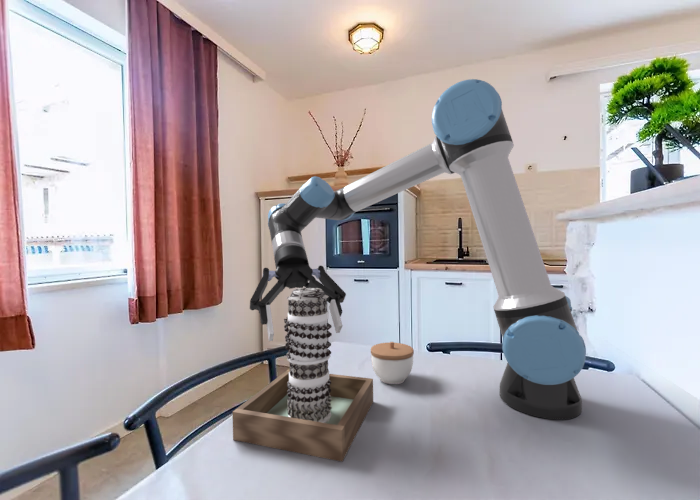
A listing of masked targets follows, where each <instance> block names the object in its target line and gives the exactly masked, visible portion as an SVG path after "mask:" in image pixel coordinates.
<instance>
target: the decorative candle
mask: <svg viewBox="0 0 700 500" xmlns="http://www.w3.org/2000/svg"><path fill="white" fill-rule="evenodd" d="M328 297H329V296H327V295H325V293H324V292H323V290H322V289H320V288H306V287H303V288H294V289H293V290H292V291H291V294H290V295H289V296H286V300H288V302H287V305H288V308H287V309H288V312H287V316H286V318H284V319H283V320H284V326H283V327H284V332H286V335H285V336H284V339H285V342H286V343H284V344H285V350H286V351H288V352H287V353H286V355H285V356H286V361H287V362H289V369H290V372H289V382H287V385H288V386H287V388H288V389H289V390H288V391H287V393H288V394H287V395H288V397H289V398H288V400H287V405H288V408H287V409H288V417H292V418H298V419H304V420H310V421H316V422H322V423H327V422H328V421H329V420H330V418H331V412H330V410H331V409H332V407H331V406H330V405H331V403H330V402H331V401H332V399H331V398H330V397H331V395H329V394H330V392H331V389H330V384H331V381H330V378H329V374H330V371H329V362H328V361H329V359H330V357H331V355H332V351H331V350H330V349H329V348H330V347H331V346H332V343H331V342H330V341H329V340H328V339H329V338H330V337H332V335H333V334H332V332H330V331H329V330H330V329H331V328H332V324H330V323H329V322H328V320H329V311H328V302H327V298H328Z"/></svg>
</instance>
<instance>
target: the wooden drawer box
mask: <svg viewBox="0 0 700 500" xmlns="http://www.w3.org/2000/svg"><path fill="white" fill-rule="evenodd" d="M289 372H290V368H288V369H287V370H286V371H285V370H284V372H283V373H281V374H279V376H277V377H276V378H275V379H274V380H272V381H270V383H268V384H267V385H266V386H264V387H263V388H262V389H261V390H259V391H257V392H256V393H255V394H254V395H252V396H251V397H250V398H249V399H247V400H246V401H245V402H244V403H242V404H240V405H239V406H238V407H237V408H236V409H234V410H232V440H233V441H238V442H243V443H246V444H253V445H257V446H262V447H266V448H267V447H268V448H272V449H278V450H283V451H288V452H291V453H292V452H293V453H296V454H297V453H298V454H303V455H308V456H313V457H316V458H317V457H318V458H320V459H321V458H323V459H327V460H328V459H329V460H333V461H338V462H343V461H344V459H345V458H346V456H347V454H348V452H349V449H350V448H351V446H352V444H353V442H354V439H355V438H356V436H357V434H358V433H359V430H360V428H361V427H362V424H363V423H364V421H365V419H366V417H367V415H368V412H369V411H370V409H371V407H372V405H373V403H374V378H369V377H361V376H352V375H345V374H343V375H342V374H336V373H329V378H330V381H331V384H330V389H331V392H330V394H329V395H331V397H330V398H331V399H332V401H331V402H330V403H331V405H330V406H331V407H332V409H331V410H330V412H331V418H330V420H329V421H328V422H327V423H322V422H316V421H310V420H304V419H298V418H292V417H288V409H287V408H288V405H287V400H288V398H289V397H288V395H287V394H288V393H287V391H288V390H289V389H288V388H287V386H288V385H287V382H289Z"/></svg>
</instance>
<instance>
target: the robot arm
mask: <svg viewBox="0 0 700 500" xmlns="http://www.w3.org/2000/svg"><path fill="white" fill-rule="evenodd" d="M502 105H503V104H502V98H501V96H500V93H499V92H498V91H497V90H496V88H495V87H494V86H493V85H491V83H489V82H488V81H485V80H481V79H478V78H477V79H474V78H472V79H471V78H470V79H463V80H461V81H458V82H456V83H454V84H452V85H451V86H449V87H448V88H446V90H444V91H443V92H442V93H441V95H440V96H438V99H437V100H436V102H435V104H434V105H433V108H432V112H431V125H432V130H433V132H434V134H435V136H434V138H433V141H432V142H430V143H429V144H427V145H425V146H423V147H421V148H419V149H417V150H415V151H413V152H411V153H410V154H408V155H404V156H403V157H401V158H399V159H397V160H395V161H393V162H391V163H389V164H387V165H385V166H383V167H381V168H378V169H377V170H375V171H373V172H371V173H369V174H367V175H365V176H363V177H361V178H359V179H357V180H355V181H353V182H351V183H349V184H347V185H345V186H344V187H341V188H339V189H337V190H335V191H334V190H333V188H332V186H331V185H330V184H329V183H328V182H327V181H326V180H324V179H323V178H321V177H319V176H316V175H315V176H311V178H309V179H308V180H307V181H306V182H305V183H304V184H302V185H301V186H300V187H299V189H298V190H297V191H296V192H295V193H294V194H293V195H292V197H290V199H289V200H288V201H287V202H284V203H282V202H281V203H278V204H277V205H273V206H272V207H271V208H270V209H269V211H268V213H267V225H268V226H267V227H268V230H269V235H270V240H271V246H272V252H273V253H272V254H273V257H274V258H273V259H274V264H275V270H270V269H269V267H264V268H263V269H262V276H261V278H260V280H259V283H258V284H257V286H256V289H255V290H254V292H253V294H252V296H251V298H250V300H249V310H251V311H254V310H257V311H258V313H259V318H260V324H261V325H266V331H267V337H268V342H273V340H274V336H275V331H274V324H273V316H272V309H271V304H272V303H273V302H274V301H275V299H277V297H278V295H280V294H281V292H283V291H284V290H285V289H286V288H288V289H289V290H291V289H299V288H320V289H322V290H323V292H324V293H325V295H327V296H329V297H328V298H327V303H329V306H328V308H329V312H330V315H331V320H332V323H333V327H334V330H335V333H336V334H340V333H341V330H342V328H343V326H344V325H343V322H342V318H341V317H342V314H343V310H342V309H343V308H342V306H341V303H344V301H345V300H346V296H347V293H346V292H345V291H344V290H343V289H342V288H341V287H340V286H339V284H337V282H336V281H335V280H334V279H332V277H331V276H330V275H329V274H328V273H327V272H326V270H325V268H324V266H323V265H318V268H312V267H311V266H310V265H309V264H310V263H309V260H308V255H307V251H306V247H305V244H304V240H303V236H302V231H303V230H304V229H305V228H306V227H307V226H308V225H309V224H310V223H312V221H314V220H315V219H317V218H318V219H325V220H327V219H328V220H333V221H336V222H337V221H339V222H341V221H347V220H349V219H352V217H353V216H354V214H355V213H356V212H359V211H361V210H363V209H365V208H368V207H371V206H372V205H375V204H377V203H379V202H381V201H383V200H386V199H389V198H390V197H392V196H394V195H396V194H400V193H401V192H405V191H406V190H408V189H411V188H412V187H415V186H417V185H420V184H422V183H424V182H426V181H429V180H431V179H434V178H435V177H438V176H440V175H442V174H444V173H446V174H449V175H452V174H453V175H454V174H455V173H456V174H457V175H459V176H460V178H461V182H462V185H463V187H464V191H465V194H466V197H467V200H468V204H469V206H470V209H471V213H472V215H473V218H474V222H475V225H476V228H477V231H478V234H479V239H480V241H481V244H482V248H483V251H484V254H485V256H486V260H487V263H488V266H489V270H490V272H491V277H492V279H493V282H494V284H495V285H494V286H495V289H496V291H497V295H498V298H497V299H496V301H495V303H494V304H493V311H494V313H495V314H494V315H495V318H496V321H497V324H498V326H499V327H498V328H499V330H500V334H501V337H502V340H501V341H502V342H501V349H502V354H503V356H504V358H505V360H506V361H507V363H506V366H505V369H504V371H503V374H502V376H501V380H500V382H499V398H500V399H501V400H502V402H504V404H506V405H507V406H509V407H510V408H512V409H514V410H516V411H519V412H521V413H523V414H526V415H530V416H533V417H538V418H544V419H548V420H549V419H550V420H570V419H574V418H577V417H579V416H580V415H581V414H582V412H583V407H582V406H583V401H582V396H581V394H580V391H579V389H578V386H577V383H576V381H575V378H576V377H577V376H578V374H580V373H581V371H582V370H583V368H584V366H585V362H586V356H587V354H586V353H587V348H586V343H585V340H584V339H583V336H582V335H581V334H580V333H579V332H580V331H578V328H577V326H576V323H575V320H574V317H573V314H572V311H573V307H572V302H571V299H570V297H568V296H567V295H566V294H565V292H564V291H562V290H560V289H558V288H556V287H554V286H553V285H552V283H551V281H550V277H549V274H548V272H547V269H546V266H545V262H544V260H543V257H542V254H541V251H540V248H539V245H538V243H537V239H536V236H535V234H534V230H533V227H532V224H531V222H530V218H529V216H528V212H527V210H526V207H525V204H524V201H523V198H522V195H521V193H520V192H521V191H520V189H519V187H518V183H517V181H516V178H515V174H514V172H513V171H514V170H513V168H512V165H511V162H510V159H509V156H510V154H511V152H512V150H513V148H514V146H515V145H514V141H513V138H512V136H511V135H512V134H511V132H510V130H509V126H508V123H507V120H506V117H505V115H504V111H503V107H502ZM273 278H275V279H276V280H277V282H276V283H275V284H274V285H273V286H272V287H271V289H270V290H269V291H268V292H267V293H266V295H264V297H263V298H262V296H263V294H264V292H265V291H266V288H267V287H268V283H269V282H271V280H272V279H273ZM318 280H319V281H318ZM261 298H262V299H261Z"/></svg>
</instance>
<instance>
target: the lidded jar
mask: <svg viewBox="0 0 700 500" xmlns="http://www.w3.org/2000/svg"><path fill="white" fill-rule="evenodd" d="M414 352H415V350H414V348H413V347H412V346H410V345H408V344H405V343H401V342H394V341H389V342H381V343H377V344H374V345H372V346H371V348H370V358H371V360H370V361H371V365H372V369H373V371H374V373H375V375H376V376H377V377H378V378H379V379H380V382H382V383H384V384H388V385H400V384H402V383H404V382H405V380H406V379H407V378H408V377H409V375H410V374H411V373H412V370H413V367H414V366H413V365H414Z"/></svg>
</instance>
